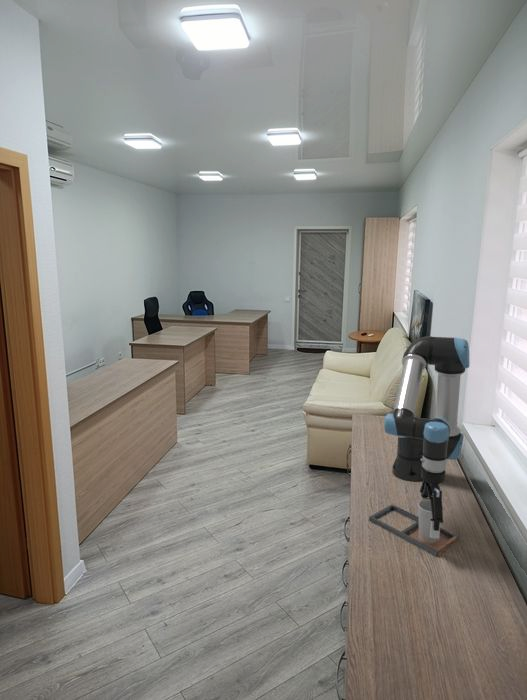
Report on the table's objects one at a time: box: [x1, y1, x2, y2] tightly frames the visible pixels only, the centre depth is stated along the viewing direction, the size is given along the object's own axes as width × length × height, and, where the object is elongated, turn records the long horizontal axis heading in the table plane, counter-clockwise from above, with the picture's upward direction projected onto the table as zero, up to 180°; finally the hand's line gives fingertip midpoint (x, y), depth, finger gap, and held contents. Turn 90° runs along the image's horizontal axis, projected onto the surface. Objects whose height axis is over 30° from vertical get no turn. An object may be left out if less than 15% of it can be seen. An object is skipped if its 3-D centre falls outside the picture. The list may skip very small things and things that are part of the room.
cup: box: [417, 500, 444, 543], centre depth 153 cm, size 8×8×12 cm
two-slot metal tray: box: [368, 504, 460, 557], centre depth 159 cm, size 27×14×2 cm, turn 39°
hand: (429, 526), depth 154 cm, fingers open, 13 cm apart
